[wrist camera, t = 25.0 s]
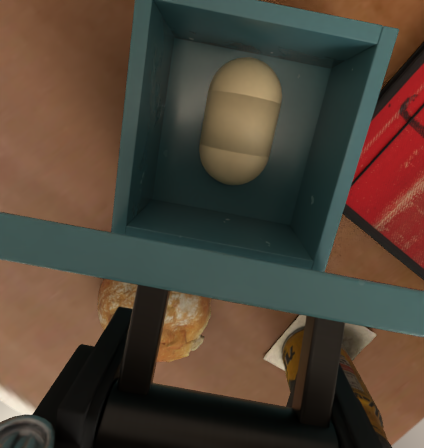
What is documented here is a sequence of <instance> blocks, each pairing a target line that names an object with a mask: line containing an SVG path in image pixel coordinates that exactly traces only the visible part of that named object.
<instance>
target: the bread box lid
mask: <svg viewBox="0 0 424 448" xmlns="http://www.w3.org/2000/svg"><path fill="white" fill-rule="evenodd" d="M0 260H5V261H10V262H16V263H21V264H27V265H32V266H38V267H43V268H49V269H54V270H59V271H65V272H70V273H76V274H81V275H87V276H92V277H97V278H103V279H108V280H114V281H119V282H125V283H130V284H136V285H137V290H136V295H135V300H134V305H133V310H132V314H131V319H130V324H129V329H128V334H127V339H126V344H125V349H124V354H123V359H122V364H121V369H120V374H119V378H116V379H115V381H114V382H113V384H112V386H111V388H110V390H109V392H108V394H107V397H106V399H105V402H104V405H103V408H102V411H101V414H100V417H99V421H98V424H97V428H96V432H95V436H94V441H93V446H92V448H340V443H339V438H338V434H337V431H336V429H335V426H334V424H333V422H332V421H331V414H332V407H333V401H334V394H335V387H336V381H337V374H338V367H339V361H340V354H341V347H342V341H343V334H344V327H345V323H348V324H353V325H358V326H364V327H369V328H375V329H380V330H386V331H391V332H396V333H402V334H407V335H413V336H418V337H424V291H422V290H417V289H411V288H406V287H401V286H395V285H390V284H385V283H379V282H374V281H369V280H363V279H358V278H353V277H347V276H342V275H336V274H331V273H326V272H320V271H315V270H310V269H304V268H299V267H294V266H288V265H283V264H277V263H272V262H267V261H261V260H256V259H251V258H245V257H240V256H235V255H229V254H224V253H218V252H213V251H208V250H202V249H197V248H192V247H186V246H181V245H176V244H170V243H165V242H159V241H154V240H149V239H143V238H138V237H133V236H127V235H122V234H117V233H111V232H106V231H100V230H95V229H90V228H84V227H79V226H74V225H68V224H63V223H58V222H52V221H47V220H42V219H36V218H31V217H25V216H20V215H15V214H9V213H4V212H0ZM170 291H174V292H179V293H184V294H190V295H195V296H201V297H206V298H212V299H217V300H223V301H228V302H233V303H239V304H244V305H250V306H255V307H261V308H266V309H271V310H277V311H282V312H288V313H293V314H299V315H304V316H306V322H305V328H304V335H303V341H302V347H301V353H300V360H299V366H298V372H297V379H296V385H295V391H294V397H293V404H292V408H290V407H284V406H279V405H273V404H268V403H262V402H256V401H251V400H245V399H240V398H234V397H228V396H223V395H217V394H212V393H206V392H201V391H195V390H189V389H184V388H178V387H173V386H167V385H161V384H156V383H153V377H154V372H155V367H156V362H157V357H158V352H159V346H160V341H161V336H162V331H163V326H164V321H165V315H166V310H167V305H168V300H169V295H170Z"/></svg>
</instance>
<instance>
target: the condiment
mask: <svg viewBox="0 0 424 448" xmlns="http://www.w3.org/2000/svg"><path fill="white" fill-rule="evenodd" d="M305 322H306V316H304V315H299V316H298V318H297V319H296V320H295V321H294V322H293V324H292V325H291V326H290V327H289V328H288V329H287V330H286V331H285V332H284V334H283V335H282V336H281V337H280V338H279V340H278V341H277V342H276V343H275V344H274V345H273V347H272V348H271V349H270V350H269V352H268V353H267V354H266V355H265V357H264V358H263V359H265V360H267V361H268V362H270V363H272V364H273V365H275V366H277V367H279V368H281V369H282V370H284V371H285V372H286V377H287V381H288V385H289V388H290V392H291V390H292V387H293V384H294V381H295V377H296V374H297V371H298V366H299V360H300V353H301V347H302V341H303V335H304V328H305ZM375 336H376V334H375V333H373V332H372V331H370V330H369V329H368V328H366V327H364V326H358V325H353V324H348V323H345V327H344V334H343V341H342V347H341V354H340V361H339V363H340V365H341V367H342V369H343V371H344V373H345V375H346V378H347V380H348V382H349V384H350V386H351V388H352V390H353V392H354V394H355V396H356V397H357V398H358V399H359V400H360V402H361V404H362V406H363V408H364V410H365V412H366V414H367V416H368V418H369V420H370V422H371V424H372V426H373V428H374V430H375V432H376V434H377V436H378V438H379V440H380V442H381V444H382V447H383V448H392V447H391V445H390V443H389V442H388V440H387V438H386V434H385V432H384V430H383V422H382V417H381V415H380V412H379V410H378V409H377V406H376V405H375V403H374V401H373V399H372V397H371V395H370V394H369V392H368V390H367V388H366V386H365V384H364V382H363V381H362V379H361V377H360V375H359V373H358V371H357V370H356V368H355V366H354V364H353V362H352V361H353V360H354V358H355V357H356V356H357V355H358V354H359V353H360V351H361V350H362V349H363V348H364V347H365V346H366V345H368V344H369V343H370V342H371V341H372V339H373V338H374V337H375Z"/></svg>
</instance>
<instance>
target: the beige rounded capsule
mask: <svg viewBox="0 0 424 448" xmlns="http://www.w3.org/2000/svg"><path fill="white" fill-rule="evenodd" d="M281 101H282V89H281V85H280V81H279V79H278V77H277V75H276V74H275V72H274V71H273V70H272V68H271V67H269V66H268V65H267V64H266V63H264V62H262V61H260V60H258V59H255V58H250V57H245V58H237V59H234V60H231V61H230V62H228V63H226V64H225V65H223V66H222V67H221V68H220V69H219V70H218V71H217V73H216V74H215V75H214V77H213V79H212V81H211V83H210V87H209V90H208V95H207V101H206V107H205V114H204V120H203V126H202V132H201V138H200V145H199V153H200V159H201V162H202V165H203V167H204V169H205V170H206V171H207V173H208V174H209V175H210V176H211V177H212V178H214V179H215V180H217V181H219V182H221V183H223V184H227V185H241V184H245V183H248V182H249V181H251V180H253V179H255V178H256V177H257V176H258V175H259V174H260V173H261V172H262V171H263V170H264V168H265V166H266V164H267V162H268V159H269V156H270V151H271V147H272V142H273V138H274V134H275V129H276V125H277V120H278V116H279V112H280V107H281Z"/></svg>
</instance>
